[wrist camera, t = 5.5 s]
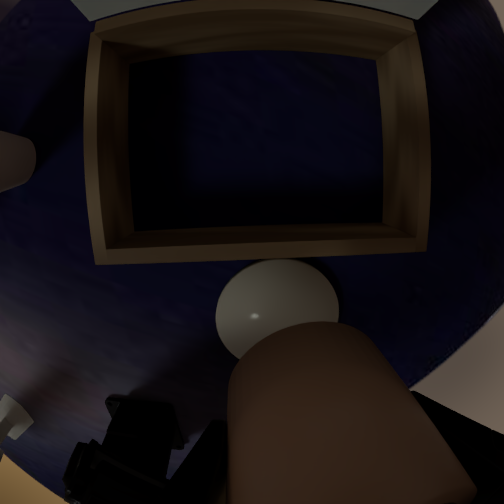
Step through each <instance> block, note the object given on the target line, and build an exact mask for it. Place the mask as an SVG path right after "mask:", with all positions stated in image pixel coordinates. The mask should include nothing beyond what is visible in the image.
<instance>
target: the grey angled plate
mask: <svg viewBox="0 0 504 504" xmlns="http://www.w3.org/2000/svg"><path fill="white" fill-rule="evenodd" d="M71 1H72V2H73V3H74V4H75V5H76V6H77V8H78V9H79V10H80V11H81V12H82V13H83V14H84V15H85V16H86V17H87V19H88V20H89V21H93V20H96V19H99V18H102V17H105V16H109V15H112V14H116V13H119V12H123V11H127V10H131V9H135V8H140V7H144V6H149V5H154V4H159V3H165V2H171V1H177V0H71ZM336 1H342V2H348V3H354V4H359V5H364V6H368V7H373V8H377V9H381V10H385V11H389V12H393V13H397V14H400V15H404V16H407V17H410V18H414V19H417V20H418V19H419V18H420V17H421V16H422V15H423V14H425V13H426V12H427V11H428V10H429V9H430V8H431V7H432V6H433V5H434V4H435V3H436V2H437V1H438V0H336Z"/></svg>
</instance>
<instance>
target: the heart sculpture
mask: <svg viewBox="0 0 504 504" xmlns="http://www.w3.org/2000/svg"><path fill="white" fill-rule="evenodd" d="M33 423H34V421H33V420H32V418H31V417H30V415H29V414H28V413H27V412H26V410H25V409H24V408H23V407H22V406H21V405H20V404H19V403H18V402H16V401H15V400H14V399H12V398H11V397H9V396H8V395H6V394H5V395H4V396H3V398H2V399H1V401H0V445H1V443H2V442H3V440H4V439H5V437H6V436H7V435H8V436H10V437H11V438H13V439H14V440H16V439H17V438H18V437H19V436H20V435H21V434H22V433H23V432H24V431H25V430H26V429H27V428H28V427H30V426H31V425H32V424H33ZM3 453H4V451H3V450H2V449H1V448H0V461H1V459H2V456H3Z"/></svg>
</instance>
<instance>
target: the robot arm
mask: <svg viewBox="0 0 504 504" xmlns="http://www.w3.org/2000/svg"><path fill="white" fill-rule="evenodd" d="M410 392H411V393H412V395H413V396H414V397H415V399H416V400H417V401H418V403H419V404H420V406H421V407H422V408H423V410H424V411H425V413H426V414H427V415H428V417H429V418H430V420H431V421H432V422H433V424H434V425H435V427H436V428H437V429H438V431H439V432H440V434H441V435H442V437H443V438H444V440H445V441H446V442H447V444H448V445H449V447H450V448H451V450H452V451H453V453H454V454H455V456H456V457H457V459H458V460H459V462H460V463H461V465H462V466H463V468H464V469H465V471H466V472H467V474H468V475H469V477H470V478H471V480H472V481H473V483H474V484H475V486H476V488H477V494H476V496H475V498H474V499H473V501H472V502H471V503H470V504H504V434H501V433H499V432H497V431H494V430H491V429H490V428H488V427H486V426H484V425H482V424H480V423H478V422H476V421H474V420H471V419H469V418H467V417H465V416H463V415H461V414H459V413H457V412H455V411H453V410H451V409H449V408H447V407H445V406H443V405H441V404H439V403H437V402H436V401H434V400H432V399H430V398H428V397H426V396H424V395H422V394H420V393H418V392H416V391H410ZM105 404H106V407H107V409H108V411H109V413H110V416H111V418H112V420H111V422H110V424H109V426H108V429H107V433H106V436H105V438H104V440H103V443H102V445H100V444H98V442H97V441H95V440H94V439H92V440H91V441H90V442H89V444H87V443H82V442H78V443H77V445H76V447H75V449H74V451H73V453H72V455H71V457H70V459H69V462H68V464H67V467H66V470H65V472H64V475H63V478H62V480H63V482H64V485H65V497H64V501H66V502H68V503H69V504H226V445H227V424H226V421H225V420H223V419H222V420H212V421H211V422H210V423H209V425H208V426H207V428H206V429H205V431H204V432H203V434H202V435H201V437H200V438H199V439H198V441H197V442H196V444H195V445H194V447H193V448H192V450H191V451H190V452H189V454H188V455H187V457H186V458H185V459H184V461H183V462H182V464H181V465H180V466H179V468H178V469H177V471H176V472H175V473H174V475H173V476H172V477H171V479H170V480H169V479H167V478H166V474H167V469H168V465H169V460H170V455H171V450H172V449H176V450H182V449H184V441H183V438H182V435H181V432H180V429H179V425H178V422H177V419H176V415H175V412H174V408H173V406H172V405H171V404H168V403H157V402H145V401H135V400H126V399H118V398H110V397H108V398H107V399H106V400H105ZM166 408H168V409H166Z"/></svg>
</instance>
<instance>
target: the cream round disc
mask: <svg viewBox="0 0 504 504" xmlns="http://www.w3.org/2000/svg"><path fill="white" fill-rule="evenodd" d="M338 317H339V305H338V299H337V296H336V293H335V291H334V289H333V287H332V285H331V284H330V282H329V281H328V280H327V278H326V277H325V276H324V275H323V274H322V273H321V272H320V271H319V270H318V269H316V268H315V267H313V266H312V265H310V264H308V263H306V262H304V261H301V260H297V259H293V258H272V259H263V260H259V261H257V262H254V263H252V264H250V265H248V266H246V267H244V268H243V269H241V270H240V271H238V272H237V273H236V274H235V275H234V276H233V277H232V278H231V279H230V280H229V281H228V283H227V284H226V285H225V287H224V289H223V290H222V292H221V295H220V297H219V300H218V304H217V310H216V326H217V330H218V333H219V336H220V338H221V340H222V342H223V344H224V345H225V346H226V348H227V349H228V350H229V351H230V352H231V353H232V354H233V355H234V356H236V357H237V358H238V359H241V357H242V356H243V355H244V354H245V353H246V352H247V351H248V350H249V349H250V348H251V347H253V346H254V345H255V344H256V343H257V342H259V341H260V340H262V339H264V338H265V337H267V336H269V335H271V334H272V333H274V332H276V331H279V330H281V329H284V328H287V327H289V326H293V325H297V324H301V323H307V322H317V321H328V322H338Z"/></svg>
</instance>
